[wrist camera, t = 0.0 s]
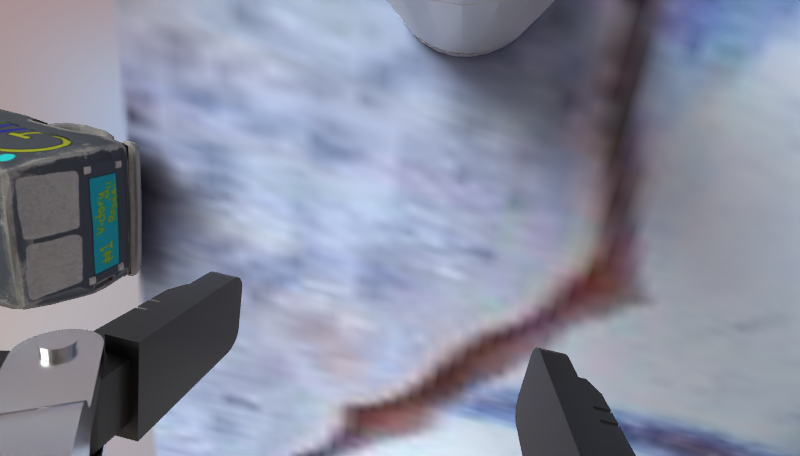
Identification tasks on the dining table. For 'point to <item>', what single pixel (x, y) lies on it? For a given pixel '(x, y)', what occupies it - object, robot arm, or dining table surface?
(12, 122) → the toy van
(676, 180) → the dining table surface
